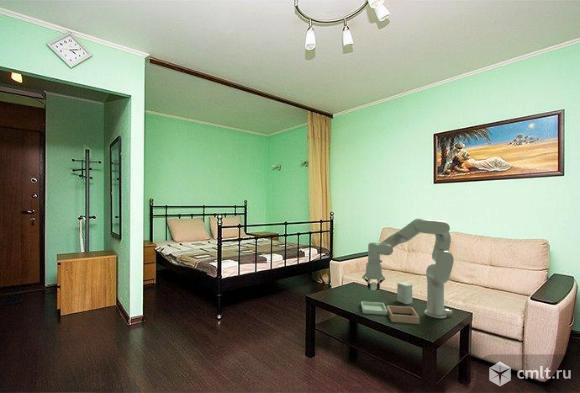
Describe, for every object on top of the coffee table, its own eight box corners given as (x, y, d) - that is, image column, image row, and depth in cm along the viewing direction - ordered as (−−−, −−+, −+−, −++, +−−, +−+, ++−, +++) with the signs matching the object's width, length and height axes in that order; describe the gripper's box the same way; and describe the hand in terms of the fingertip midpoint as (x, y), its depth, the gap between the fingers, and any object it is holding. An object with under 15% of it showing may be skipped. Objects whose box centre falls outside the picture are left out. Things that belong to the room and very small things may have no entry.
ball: (376, 289, 185) (377, 281, 185) (378, 291, 180) (378, 283, 180) (369, 288, 186) (369, 281, 186) (370, 290, 181) (370, 283, 181)
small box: (412, 303, 196) (412, 284, 197) (406, 304, 193) (406, 285, 194) (402, 299, 203) (402, 281, 204) (397, 301, 200) (397, 282, 201)
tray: (383, 306, 189) (383, 302, 189) (387, 315, 174) (387, 311, 174) (361, 304, 191) (361, 301, 191) (362, 313, 176) (363, 309, 177)
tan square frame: (412, 313, 177) (412, 307, 178) (419, 323, 162) (419, 317, 162) (386, 311, 180) (386, 305, 180) (391, 321, 165) (391, 314, 165)
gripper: (386, 261, 186) (385, 288, 185) (360, 259, 189) (359, 286, 188) (388, 263, 178) (387, 292, 178) (361, 262, 181) (360, 290, 181)
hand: (373, 289), depth 183 cm, fingers closed on ball, 4 cm apart
